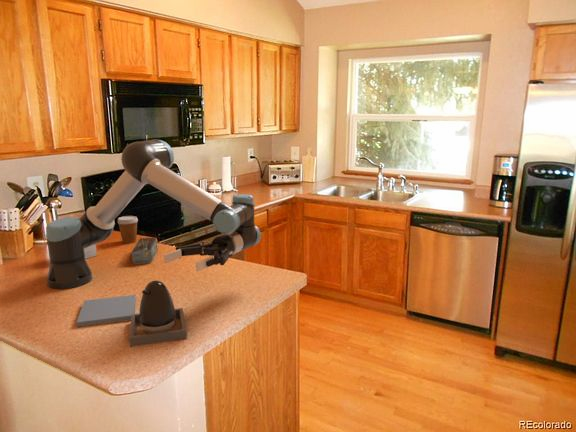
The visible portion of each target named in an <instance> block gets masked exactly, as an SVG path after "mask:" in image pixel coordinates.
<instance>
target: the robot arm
mask: <svg viewBox="0 0 576 432" xmlns="http://www.w3.org/2000/svg"><path fill="white" fill-rule="evenodd" d="M174 154H175V153H174V151H173V149H172V146H171V145H170V144H169V143H167V142H166V141H164V140H161V139H150V140H142V141H135V142H131V143H129V144H128V145H126V146H125V148H123V151H122V153H121V159H120V160H121V164H122V167H123V169H124V172H122V174H121V175H120V176H119V177H118V179H117V180H116V181H115V182H114V183H113V184H112V186H111V187H110V188H109V189H108V191H107V192H106V193H105V194H104V195H103V196H102V198H101V199H100V200H99V201H98V202H97V204H96V205H95V206H89V207H88V208H87V209H86V210H85V212H84V213H83V214H81V216H80V217H76V216H67V217H62V218H58V219H54V220H53V221H50V222H49V223H48V224H47V225H46V227H45V233H46V234H45V238H46V243H47V250H48V251H47V252H48V256H49V258H48V259H49V269H48V274H47V277H46V283H47V286H48V287H49V288H51V289H58V290H60V289H61V290H62V289H63V290H65V289H72V288H77V287H80V286H83V285H87V284H88V283H89V282H91V281H92V279H93V273H92V270H91V268H90V266H89V264H88V262H87V261H86V260H87V259H85V255H84V248H87V247H89V246H91V245H94V244H96V245H97V244H99V243H101V242H104V241H105V240H107V239H108V238H110V236H111V235H112V234H113V231H114V227H115V225H116V223H115V219H117V217H118V216H119V215H120V214H121V213H122V212H123V210H124V209H125V208H126V207H127V206H128V204H129V203H130V202H131V201H132V200H133V199H134V198H135V197H136V195H137V194H138V193H139V192H140V191H141V190H142V189H143V188H144V186H145V185H148V184H149V185H151V186H152V187H154V188H155V189H157V190H159V191H160V192H162V193H164V194H166V195H167V196H169V197H170V198H173V199H174V200H175V201H177V202H179V203H180V204H182V205H184V206H185V207H187V208H189V209H190V210H192V211H194V212H195V213H197V214H199V215H201V216H202V217H204V218H205V219H207V220H208V221H210V222H212V224H213V226H214V228H215V230H216V231H217V232H218V233H220V234H221V235H218V236H215V237H214V238H213V239H212V240H211V242H209V243H206V244H205V242H203V241H201V242H197V243H192V244H186V245H181V246H175V250H173V251H170V252H167V253H164V254H163V262H164V264H167V263H171V262H173V261H176V260H179V259H181V258H182V257H187V256H198V255H199V256H202V257H203V256H208V257H205V258H203V259H201V260H198V261H195V269H196V272H200V271H203V270H205V269H208V268H209V267H212V266H214V265H215V266H217V265H220V266H224V265H226V263H227V262H228V260H230V258H232V257H233V256H234V255H235V254H236V253H239V252H241V251H243V250H247V249H250V248H252V247H254V246H256V245H258V244H259V243H260V241H261V238H262V233H261V231H260V228H259V227H258V226H256V223H255V207H256V206H255V205H256V204H255V201H254V200H255V199H254V196H253V194H252V195H251V194H248V193H239V194H235V195H233V197H232V202H231V203H232V204H231V205H229V204H227V203H226V202H224V201H222V199H220V198H217V197H216V196H214V195H213V194H211V193H209V192H208V191H206V190H205V189H202V188H201V187H199V186H198V185H196V184H195V183H192V182H191V181H189V180H188V179H186V178H184V177H183V176H181V175H179V174H178V173H176V172H175V171H173V170H171V169H170V168H172V167H173V164H174V161H175V155H174Z"/></svg>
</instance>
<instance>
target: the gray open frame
mask: <svg viewBox="0 0 576 432" xmlns="http://www.w3.org/2000/svg"><path fill="white" fill-rule="evenodd" d="M175 312H176V318H177V319H178V318H179V320H180V328H181V329H175V330H168V331H166V332H159V333H152V334H151V333H145V334H140V335H138V334H137V335H136V324H139V323H140V322H139V313H135V314H132V315H131V320H130V328H129V337H128V338H129V347H130V348H132V347H139V346H145V345H151V344H152V345H153V344H159V343H166V342H172V341H179V340H186V339H187V328H186V321H185V314H184V308H183V307H180V308H175ZM176 318H175V319H176Z"/></svg>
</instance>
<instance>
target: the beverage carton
mask: <svg viewBox="0 0 576 432" xmlns="http://www.w3.org/2000/svg"><path fill="white" fill-rule="evenodd" d="M157 239H158V238H157V237H145V238H144V237H142V238H141V237H140V238H139V240H138V241H137V242H136V244H135V246H134V247H133V249H132V250H131V260H132V263H133V265H137V264H151V263H152V261H154V260H153V259H154V258H155V256H156V255H157V254H156V253H157V252H158V240H157Z"/></svg>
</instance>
